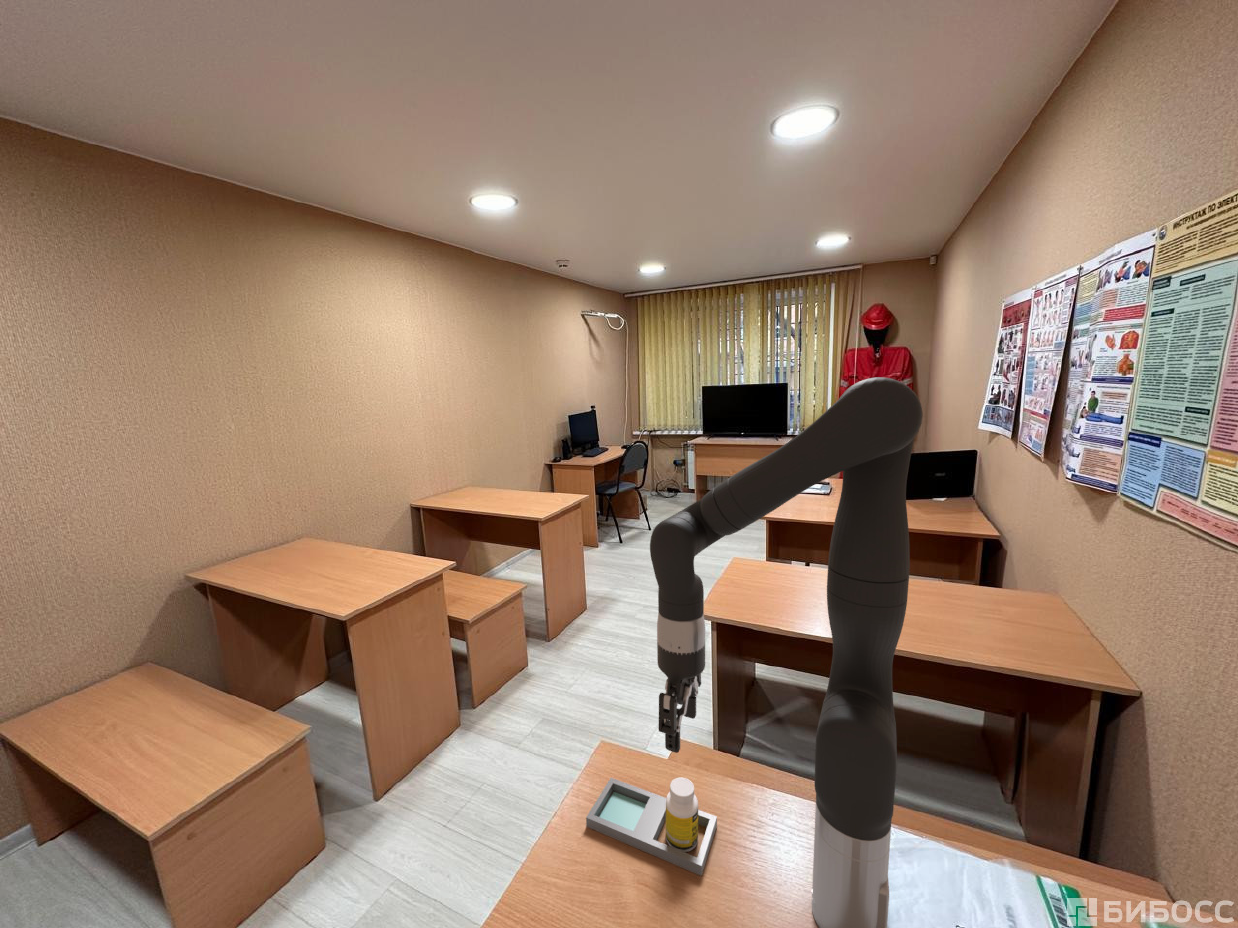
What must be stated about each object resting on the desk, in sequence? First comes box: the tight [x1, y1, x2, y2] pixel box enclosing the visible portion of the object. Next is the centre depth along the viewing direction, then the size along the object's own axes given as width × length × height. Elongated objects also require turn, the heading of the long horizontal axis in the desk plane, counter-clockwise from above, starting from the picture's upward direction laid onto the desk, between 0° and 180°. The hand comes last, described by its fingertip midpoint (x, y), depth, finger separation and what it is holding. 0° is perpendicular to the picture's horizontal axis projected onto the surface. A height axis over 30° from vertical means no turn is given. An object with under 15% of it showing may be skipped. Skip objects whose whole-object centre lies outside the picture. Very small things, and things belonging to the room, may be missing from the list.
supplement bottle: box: [665, 776, 699, 853], centre depth 79 cm, size 5×5×10 cm
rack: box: [585, 777, 718, 877], centre depth 82 cm, size 20×10×2 cm, turn 64°
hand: (681, 732), depth 77 cm, fingers open, 8 cm apart
